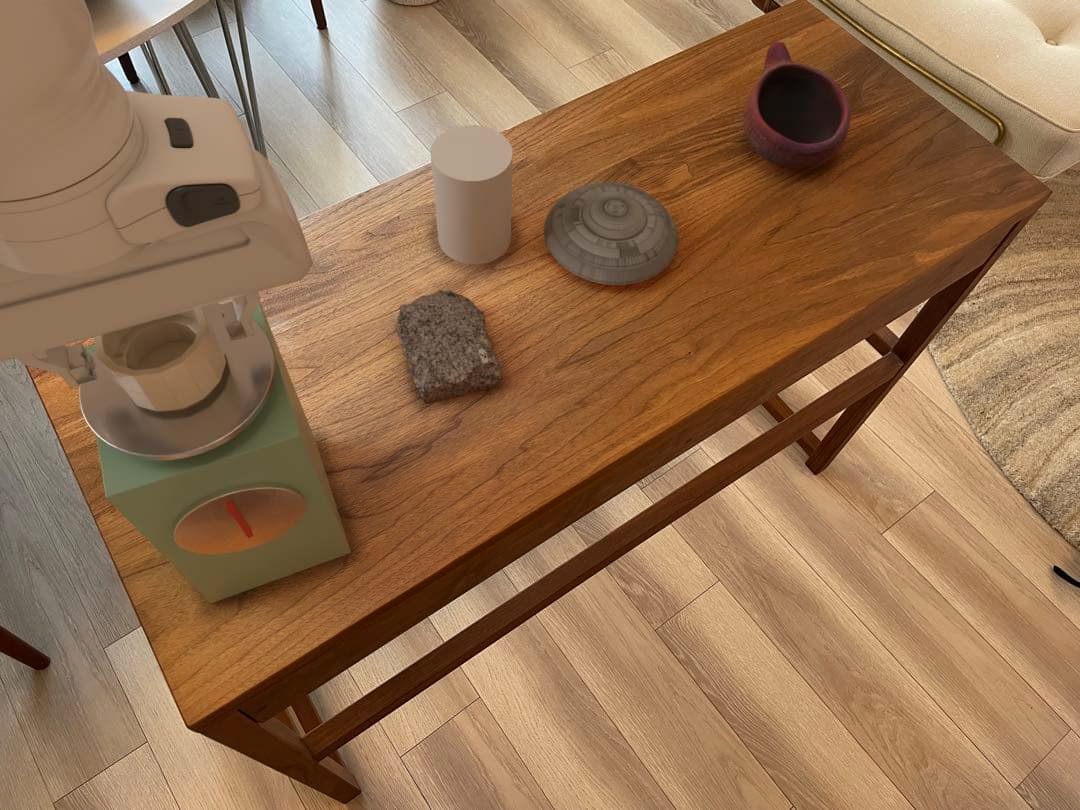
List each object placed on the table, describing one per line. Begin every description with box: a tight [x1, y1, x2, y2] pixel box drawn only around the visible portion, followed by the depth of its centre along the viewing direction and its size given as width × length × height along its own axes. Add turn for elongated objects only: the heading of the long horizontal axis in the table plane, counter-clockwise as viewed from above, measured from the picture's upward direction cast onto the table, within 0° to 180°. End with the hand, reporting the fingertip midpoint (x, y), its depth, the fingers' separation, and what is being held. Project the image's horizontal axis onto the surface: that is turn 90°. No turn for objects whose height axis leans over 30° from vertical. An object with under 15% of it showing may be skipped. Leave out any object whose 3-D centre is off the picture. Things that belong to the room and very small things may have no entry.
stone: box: [396, 289, 502, 404], centre depth 79 cm, size 12×9×4 cm
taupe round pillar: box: [430, 124, 514, 266], centre depth 84 cm, size 8×8×12 cm
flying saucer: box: [543, 181, 679, 286], centre depth 88 cm, size 15×15×6 cm
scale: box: [78, 300, 352, 604], centre depth 61 cm, size 12×13×23 cm
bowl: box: [742, 40, 852, 169], centre depth 97 cm, size 16×13×8 cm
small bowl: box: [93, 307, 226, 412], centre depth 49 cm, size 6×6×4 cm
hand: (164, 351), depth 49 cm, fingers open, 8 cm apart
